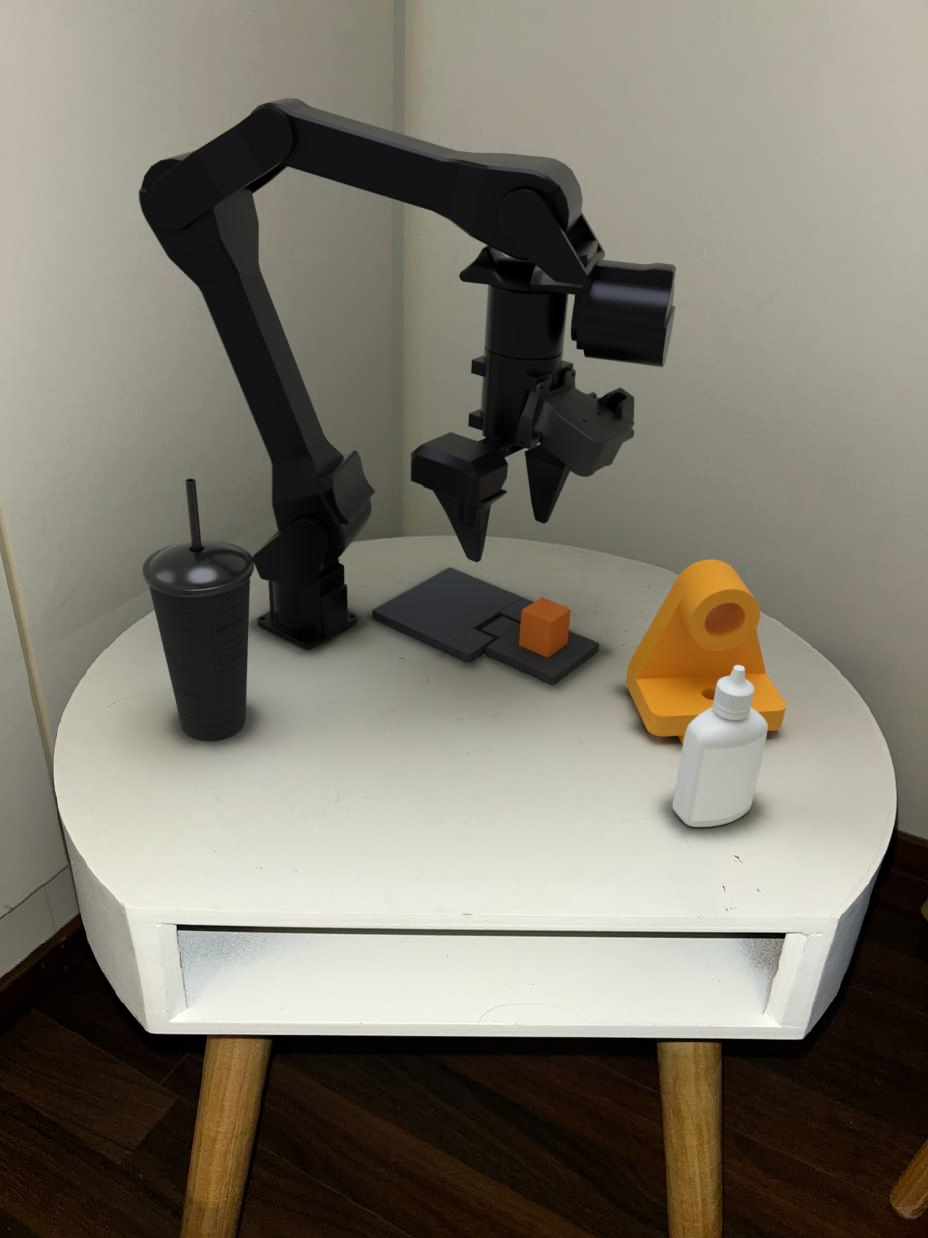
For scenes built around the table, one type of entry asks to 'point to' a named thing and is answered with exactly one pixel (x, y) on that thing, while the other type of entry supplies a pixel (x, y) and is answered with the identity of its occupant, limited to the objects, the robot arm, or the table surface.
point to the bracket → (700, 651)
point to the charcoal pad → (451, 612)
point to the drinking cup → (203, 626)
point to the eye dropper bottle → (721, 756)
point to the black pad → (535, 661)
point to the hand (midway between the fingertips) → (508, 540)
